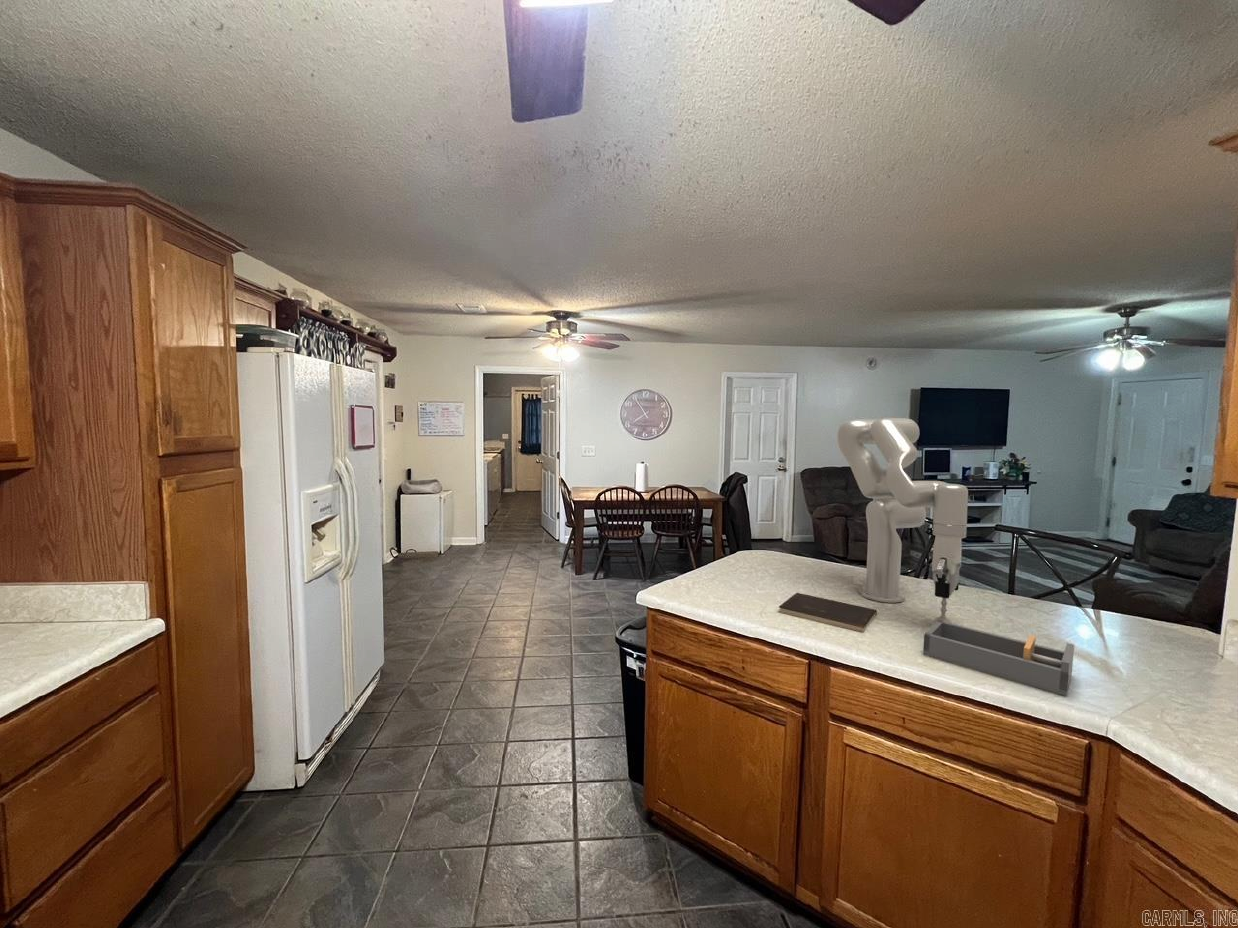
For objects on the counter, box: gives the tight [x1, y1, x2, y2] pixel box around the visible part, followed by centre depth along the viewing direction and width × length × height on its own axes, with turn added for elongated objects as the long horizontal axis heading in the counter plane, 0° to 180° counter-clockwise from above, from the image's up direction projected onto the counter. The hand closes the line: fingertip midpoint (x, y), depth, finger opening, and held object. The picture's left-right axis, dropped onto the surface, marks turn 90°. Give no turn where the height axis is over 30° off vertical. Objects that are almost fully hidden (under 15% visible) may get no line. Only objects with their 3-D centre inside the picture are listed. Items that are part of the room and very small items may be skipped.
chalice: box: [931, 562, 963, 627], centre depth 138 cm, size 7×7×18 cm
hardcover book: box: [778, 592, 878, 633], centre depth 148 cm, size 16×23×2 cm
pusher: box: [1023, 634, 1062, 666], centre depth 111 cm, size 6×9×6 cm
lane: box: [922, 620, 1075, 697], centre depth 117 cm, size 26×12×7 cm, turn 45°
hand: (946, 593), depth 137 cm, fingers open, 9 cm apart
